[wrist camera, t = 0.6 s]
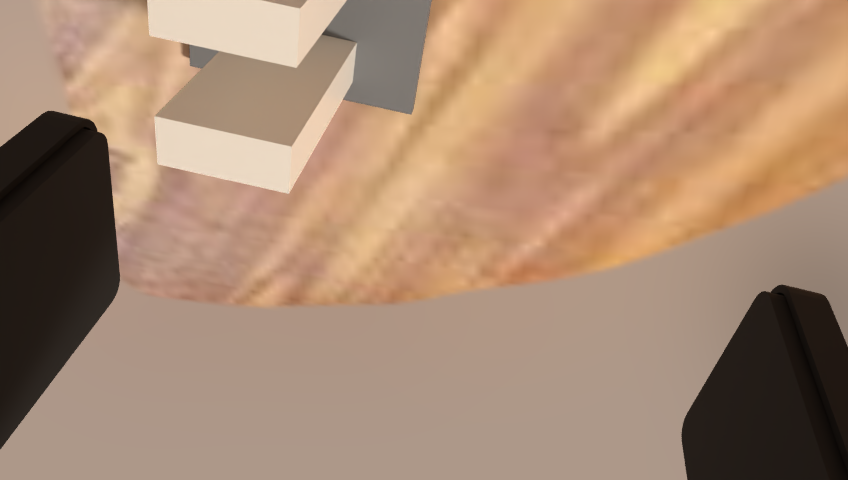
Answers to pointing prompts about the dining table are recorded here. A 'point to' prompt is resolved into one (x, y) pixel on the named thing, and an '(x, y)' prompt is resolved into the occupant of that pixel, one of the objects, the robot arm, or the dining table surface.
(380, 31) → the mat
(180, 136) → the domino
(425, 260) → the dining table surface
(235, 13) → the domino
